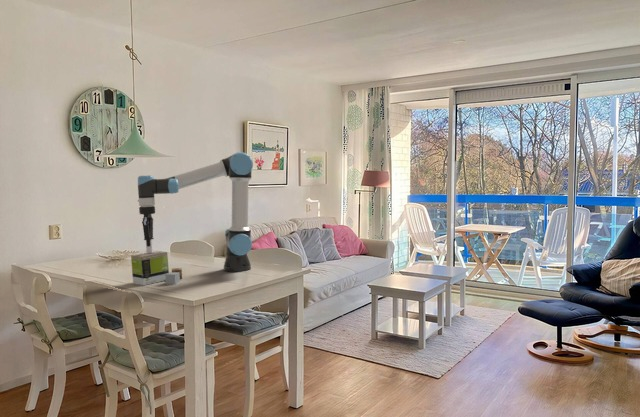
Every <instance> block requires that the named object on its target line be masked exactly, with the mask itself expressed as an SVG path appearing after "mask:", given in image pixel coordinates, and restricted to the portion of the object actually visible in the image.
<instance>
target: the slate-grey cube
mask: <svg viewBox="0 0 640 417" xmlns="http://www.w3.org/2000/svg"><path fill="white" fill-rule="evenodd" d="M165 276H166V280H165V284H166V285H177V284H179V283H180V282H181V279H180V274H179V272H172V271H171V272H170V271H169V273H168V274H165Z"/></svg>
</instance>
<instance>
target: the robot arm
mask: <svg viewBox="0 0 640 417" xmlns="http://www.w3.org/2000/svg"><path fill="white" fill-rule="evenodd" d="M253 167H254V162H253V159H252V157H251V156H250V155H249V154H248V153H246V152H243V151H239V152H236V153H234V154H231V155H230V156H228V157H225V158H223V159H221V160H219V162H217V163H213V164H209V165H206V166H203V167H198V168H196V169H193V170H191V171H186V172H183V173H180V174H177V175H174V176H170V177H167V178H157V179H156V178H154V175H151V174H150V175H139V176H138V177H137V193H138V199H137V202H138V206H139V207H138V209H139V210H138V213H139V215H143V218H142V221H141V223H142V229H143V237H144V239H143V241H145V251H146V252H145V253H152V252H153V250H154V249H153V240H154V218H153V217H152V215H153V214H154V215H155V213H156V207H155V205H156V200H155V198H156V197H155V195H160V194H161V195H162V194H166V195H167V194H169V195H170V194H177V193H179V190H181V189H185V188H188V187H191V186H195V185H198V184H201V183H204V182H207V181H210V180H213V179H217V178H220V177H228V178H229V179H230V180H231V227H229V228H227V229H226V230H225V234H224V236H225V251H226V253H225V254H226V256H225V260H224V264H223V271H225V272H231V273H232V272H235V273H237V272H244V271H250V270H251V269H252V264H251V261H250V258H249V255H248V253H249V252H250V251H251V250H252V246H253V243H252V241H253V240H252V239H251V237H252V235H251V234H252V233H251V231H252V230H251V228H250V227H249V181H251V180H252V171H253V170H252V169H253Z"/></svg>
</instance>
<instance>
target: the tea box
mask: <svg viewBox="0 0 640 417" xmlns="http://www.w3.org/2000/svg"><path fill="white" fill-rule="evenodd" d="M130 257H131V258H130V261H131V272H132V282H133V284H136V285H139V286H140V285H141V286H147V285H150V284H151V285H152V284H155V283H159V282H164V281H165V282H166V276H165V274H168V273H170V271H169V256H168V252H167V251H159V250H154V251H153V252H152V253H146V252H142V253H136V254H130Z"/></svg>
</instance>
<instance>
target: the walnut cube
mask: <svg viewBox="0 0 640 417" xmlns="http://www.w3.org/2000/svg"><path fill="white" fill-rule="evenodd" d="M171 272H179V274H180V280H183V273H182V272H183V268H182V267H175V268H174V267H173V268H171Z"/></svg>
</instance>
